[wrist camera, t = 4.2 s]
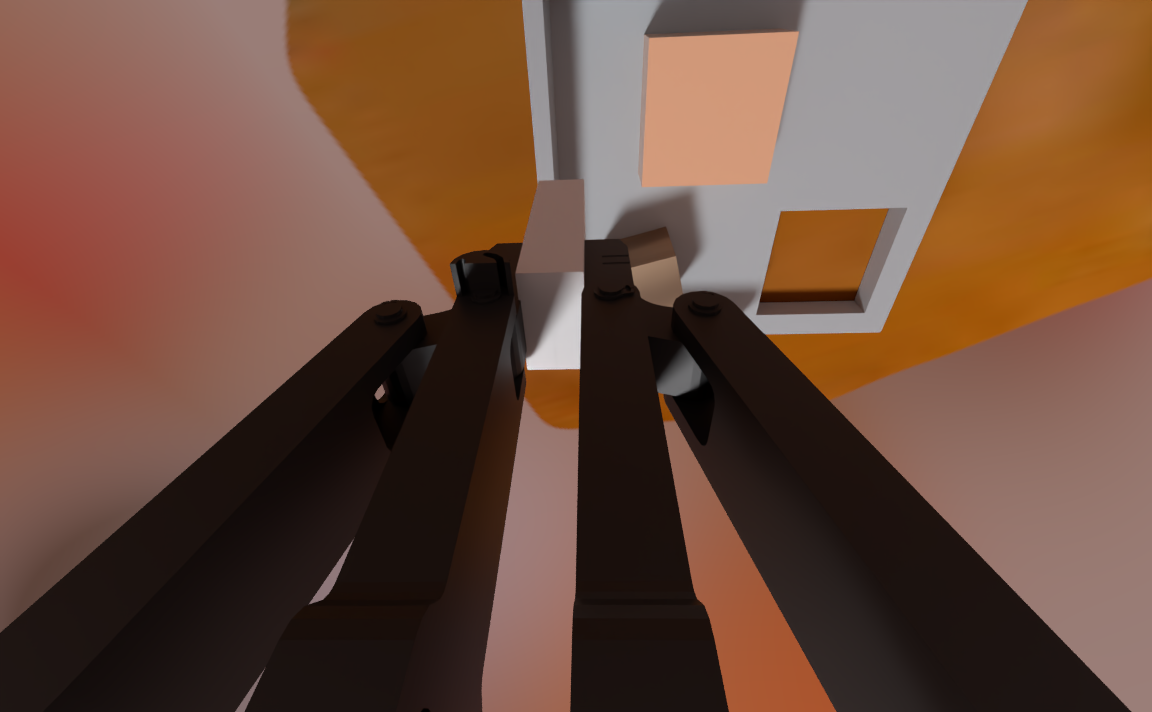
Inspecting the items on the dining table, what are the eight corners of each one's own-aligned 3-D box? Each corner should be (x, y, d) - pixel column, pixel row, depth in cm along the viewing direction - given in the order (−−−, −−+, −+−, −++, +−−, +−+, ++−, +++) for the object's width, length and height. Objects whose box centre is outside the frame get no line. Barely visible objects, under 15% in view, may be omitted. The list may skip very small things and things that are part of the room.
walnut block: (601, 244, 36) (602, 275, 32) (666, 226, 35) (675, 256, 31) (617, 298, 39) (620, 332, 35) (677, 283, 38) (687, 316, 34)
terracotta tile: (643, 34, 28) (648, 37, 25) (780, 28, 27) (799, 31, 25) (637, 173, 32) (641, 187, 30) (753, 169, 32) (767, 183, 30)
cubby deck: (531, -47, 27) (517, -58, 21) (1032, -73, 26) (1153, -91, 20) (558, 325, 43) (554, 374, 37) (869, 319, 42) (912, 368, 36)
